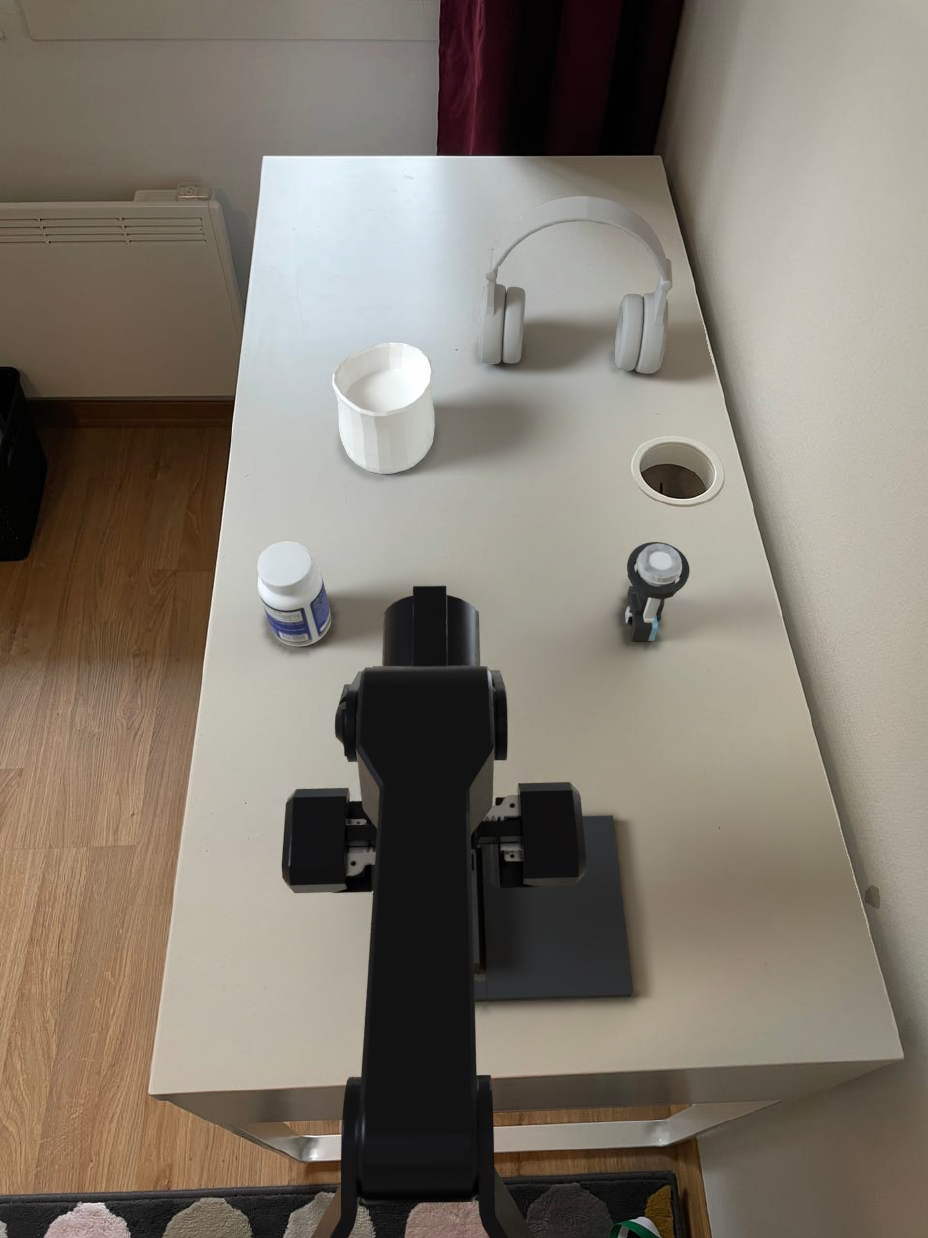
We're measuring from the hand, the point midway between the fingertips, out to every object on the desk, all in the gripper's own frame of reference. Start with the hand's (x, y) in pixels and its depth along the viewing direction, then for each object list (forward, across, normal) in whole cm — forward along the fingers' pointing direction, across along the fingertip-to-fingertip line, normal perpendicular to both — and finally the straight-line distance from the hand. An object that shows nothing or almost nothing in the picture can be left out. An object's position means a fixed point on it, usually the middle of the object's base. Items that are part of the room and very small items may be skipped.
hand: (436, 873), depth 68 cm
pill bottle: (+10, +12, -27) cm, 31 cm away
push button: (+10, -20, -27) cm, 35 cm away
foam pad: (+10, 0, 0) cm, 10 cm away
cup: (+10, +4, -49) cm, 50 cm away
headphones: (+10, -16, -61) cm, 64 cm away
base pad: (+10, -4, 0) cm, 11 cm away
